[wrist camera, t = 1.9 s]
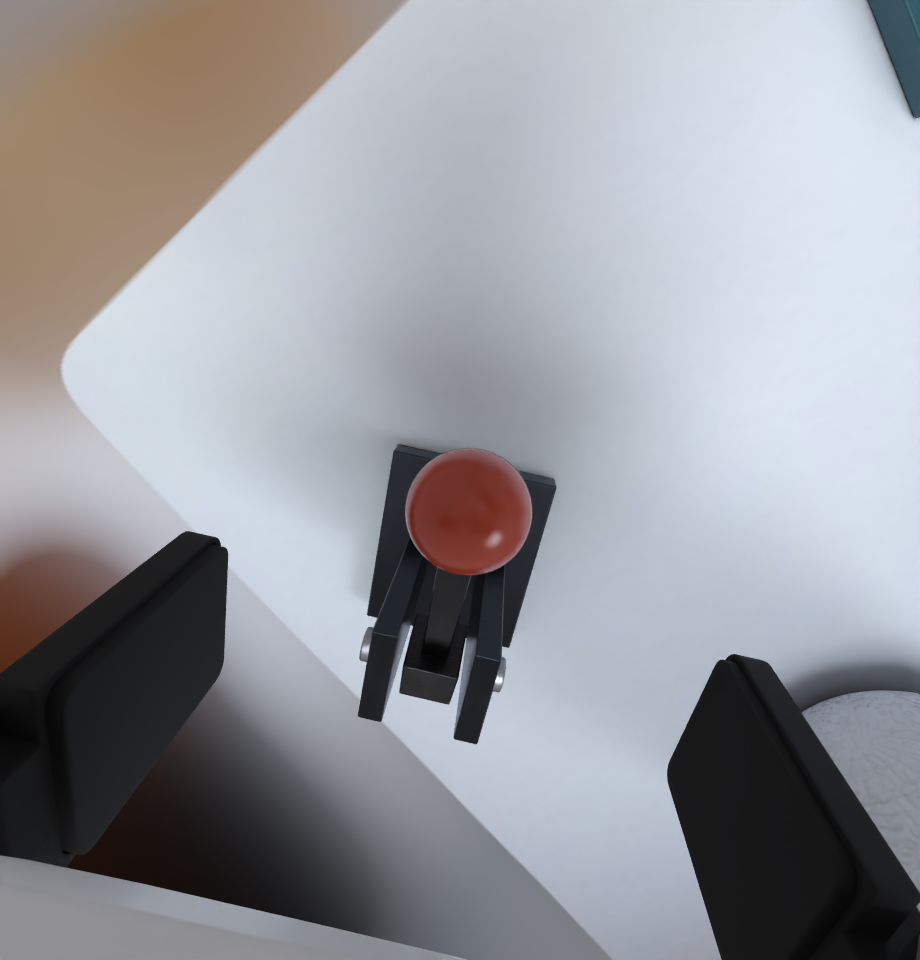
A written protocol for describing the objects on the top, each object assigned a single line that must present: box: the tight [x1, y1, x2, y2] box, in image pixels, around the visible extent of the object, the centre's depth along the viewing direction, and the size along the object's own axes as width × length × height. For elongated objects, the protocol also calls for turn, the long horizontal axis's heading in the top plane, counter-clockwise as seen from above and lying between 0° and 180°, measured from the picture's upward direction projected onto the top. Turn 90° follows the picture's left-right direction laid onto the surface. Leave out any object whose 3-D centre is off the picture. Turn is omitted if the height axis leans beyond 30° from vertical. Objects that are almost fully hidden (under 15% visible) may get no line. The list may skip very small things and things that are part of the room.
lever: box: [399, 448, 532, 704], centre depth 19 cm, size 13×4×4 cm, turn 169°
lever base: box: [358, 445, 556, 744], centre depth 26 cm, size 11×9×12 cm
